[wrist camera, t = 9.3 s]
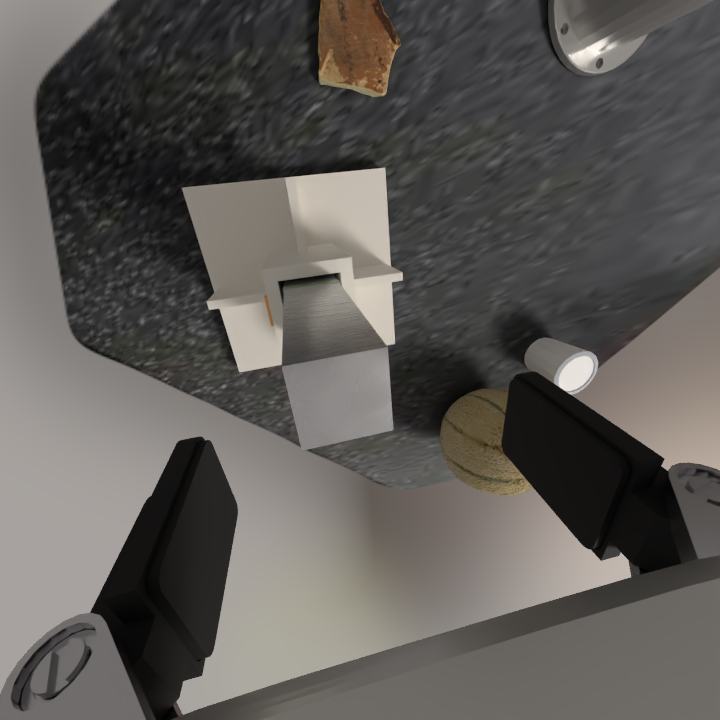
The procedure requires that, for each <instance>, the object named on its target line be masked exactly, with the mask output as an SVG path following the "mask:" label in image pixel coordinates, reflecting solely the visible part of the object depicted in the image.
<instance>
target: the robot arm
mask: <svg viewBox="0 0 720 720" xmlns="http://www.w3.org/2000/svg"><path fill="white" fill-rule="evenodd" d="M713 1H715V0H549V1H548V23H549V30H550V37H551V40H552V43H553V47H554V49H555V51H556V53H557V55H558V57H559V59H560V60H561V62H562V63H563V64H564V65H565V66H566V68H568V69H569V70H571V71H572V72H574V73H575V74H579V75H582V76H596V75H599V74H603V73H605V72H607V71H610V70H612V69H614V68H616V67H617V66H619V65H620V64H622V63H623V62H625V61H626V60H627V59H628V58H629V57H630V56H631V55H632V54H633V53H634V52H635V51H636V50H637V49H638V47H639V46H640V45H641V44H642V42H643V41H644V39H645V38H646V36H647V35H648V33H650V32H652V31H654V30H656V29H658V28H660V27H662V26H664V25H666V24H668V23H670V22H672V21H674V20H676V19H678V18H680V17H682V16H684V15H686V14H688V13H690V12H692V11H694V10H696V9H698V8H700V7H702V6H704V5H707V4H709V3H711V2H713ZM501 446H502V450H503V452H504V454H505V455H506V456H507V457H508V458H509V460H510V461H511V462H512V463H513V464H514V466H515V467H516V468H517V469H518V470H519V471H520V473H521V474H522V475H523V476H524V477H525V478H526V480H527V481H528V482H529V483H530V484H531V485H532V487H533V488H534V489H535V490H536V491H537V492H538V494H539V495H540V496H541V497H542V498H543V499H544V501H545V502H546V503H547V504H548V505H549V506H550V508H551V509H552V510H553V511H554V512H555V513H556V515H557V516H558V517H559V518H560V519H561V521H562V522H563V523H564V524H565V525H566V526H567V527H568V529H569V530H570V531H571V532H572V533H573V535H574V536H575V537H576V538H577V539H578V540H579V542H580V543H581V544H582V545H583V546H584V547H586V548H588V549H591V550H592V551H593V552H594V553H595V554H596V556H597V557H598V558H599V559H600V560H601V561H602V560H605V559H608V558H612V557H616V556H619V555H620V552H621V553H622V554H623V555H624V556H625V557H626V558H627V559H628V560H629V566H630V572H631V578H627V579H624V580H621V581H617V582H614V583H611V584H607V585H604V586H600V587H597V588H593V589H590V590H586V591H583V592H580V593H576V594H573V595H570V596H566V597H563V598H559V599H556V600H553V601H549V602H546V603H542V604H539V605H535V606H532V607H529V608H525V609H522V610H519V611H515V612H512V613H508V614H506V615H502V616H498V617H495V618H492V619H489V620H485V621H482V622H478V623H475V624H472V625H468V626H465V627H462V628H459V629H455V630H452V631H449V632H445V633H442V634H438V635H435V636H432V637H428V638H425V639H422V640H418V641H415V642H412V643H409V644H405V645H402V646H399V647H395V648H392V649H389V650H386V651H382V652H379V653H376V654H372V655H369V656H366V657H362V658H359V659H356V660H353V661H349V662H346V663H343V664H340V665H336V666H333V667H330V668H326V669H323V670H320V671H316V672H313V673H310V674H307V675H304V676H300V677H297V678H294V679H290V680H287V681H284V682H281V683H278V684H275V685H271V686H268V687H266V688H262V689H259V690H256V691H253V692H250V693H247V694H244V695H241V696H238V697H235V698H232V699H229V700H226V701H222V702H219V703H216V704H213V705H210V706H207V707H204V708H201V709H198V710H196V711H193V712H190V713H188V714H185V715H183V714H182V713H181V710H180V708H179V706H178V704H177V702H176V701H177V700H178V698H179V697H180V692H181V688H182V684H183V681H185V680H188V679H192V678H195V677H199V676H202V673H203V667H204V663H205V658H206V657H209V656H211V654H212V652H213V650H214V645H215V640H216V634H217V629H218V623H219V618H220V612H221V606H222V601H223V595H224V589H225V584H226V578H227V572H228V567H229V561H230V555H231V550H232V544H233V538H234V533H235V527H236V521H237V515H238V508H237V503H236V500H235V498H234V495H233V493H232V491H231V488H230V486H229V483H228V481H227V479H226V476H225V474H224V471H223V469H222V466H221V464H220V462H219V459H218V457H217V454H216V452H215V450H214V447H213V445H212V443H211V441H210V440H206V441H205V440H204V438H203V437H195V438H190V439H185V440H180V441H179V442H178V443H177V444H176V446H175V449H174V450H173V453H172V454H171V456H170V459H169V461H168V463H167V465H166V467H165V469H164V471H163V473H162V475H161V477H160V479H159V481H158V483H157V485H156V487H155V489H154V492H153V494H152V496H150V497H149V498H148V499H147V501H146V502H145V504H144V505H143V508H142V510H141V512H140V514H139V516H138V518H137V520H136V522H135V524H134V526H133V528H132V530H131V532H130V534H129V536H128V538H127V540H126V542H125V544H124V546H123V548H122V550H121V552H120V554H119V556H118V558H117V560H116V562H115V564H114V566H113V568H112V570H111V572H110V574H109V576H108V578H107V580H106V582H105V584H104V586H103V588H102V590H101V592H100V595H99V596H98V598H97V600H96V602H95V604H94V606H93V608H92V610H91V612H90V613H87V614H80V615H77V616H75V617H73V618H70V619H68V620H66V621H64V622H62V623H61V624H59V625H58V626H56V627H55V628H54V629H52V630H50V631H49V632H47V633H46V634H45V635H44V636H43V637H42V638H41V639H40V640H38V641H37V642H36V643H35V644H34V645H33V646H32V647H31V648H30V649H29V650H28V651H27V653H26V654H25V655H24V656H23V657H22V658H21V660H20V661H19V662H18V663H17V665H16V666H15V668H14V669H13V671H12V672H11V674H10V676H9V677H8V678H7V680H6V682H5V685H4V687H3V689H2V692H1V694H0V720H720V471H719V470H717V469H714V468H711V467H708V466H704V465H701V464H694V463H678V464H675V465H673V466H671V468H670V469H669V471H667V470H665V469H664V468H663V467H661V465H662V463H663V461H664V458H663V457H661V456H660V455H658V454H657V453H655V452H654V451H652V450H651V449H650V448H648V447H646V446H645V445H644V444H642V443H641V442H639V441H638V440H636V439H635V438H633V437H632V436H630V435H629V434H628V433H626V432H625V431H623V430H622V429H620V428H619V427H617V426H616V425H614V424H613V423H611V422H610V421H608V420H607V419H605V418H604V417H603V416H601V415H600V414H598V413H597V412H595V411H594V410H592V409H591V408H589V407H588V406H586V405H585V404H583V403H582V402H580V401H579V400H578V399H576V398H575V397H573V396H572V395H570V394H569V393H567V392H566V391H564V390H563V389H561V388H560V387H558V386H557V385H556V384H554V383H553V382H551V381H550V380H548V379H547V378H545V377H544V376H542V375H541V374H539V373H538V372H536V371H532V372H527V373H522V374H517V375H516V376H515V377H514V379H513V380H512V381H511V382H510V385H509V392H508V399H507V406H506V413H505V420H504V427H503V434H502V441H501Z"/></svg>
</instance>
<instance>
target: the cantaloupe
mask: <svg viewBox="0 0 720 720" xmlns="http://www.w3.org/2000/svg"><path fill="white" fill-rule="evenodd" d="M507 399H508V391H506V390H500V389H480V390H476V391H472V392H470V393H468V394H466V395H465V396H463V397H461V398H459V399H458V400H457V401H456V402H454V403H453V404H452V405H451V407H450V408H449V409H448V411H447V412H446V413H445V416H444V418H443V421H442V426H441V433H440V447H441V452H442V455H443V458H444V460H445V462H446V463H447V465H448V467H449V469H450V470H451V471H452V472H453V473H454V475H455V476H456V477H457V478H458V479H460V480H461V481H462V482H464V483H466V484H467V485H468V486H471V487H473V488H475V489H478V490H480V491H483V492H486V493H489V494H493V495H500V496H501V495H503V496H511V495H516V494H519V493H522V492H525V491H527V490H529V489H530V488H532V485H531V484H530V483H529V482H528V481H527V480H526V478H525V477H524V476H523V475H522V474H521V473H520V471H519V470H518V469H517V468H516V467H515V466H514V464H513V463H512V462H511V461H510V460H509V458H508V457H507V456H506V455H505V454H504V452H503V450H502V446H501V441H502V434H503V427H504V420H505V413H506V406H507Z"/></svg>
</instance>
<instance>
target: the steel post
mask: <svg viewBox="0 0 720 720" xmlns="http://www.w3.org/2000/svg"><path fill="white" fill-rule="evenodd" d="M283 293H284V303H283V338H282V370H283V374H284V378H285V382H286V386H287V390H288V395H289V399H290V403H291V407H292V411H293V415H294V419H295V424H296V428H297V432H298V436H299V440H300V444H301V449H302V450H307V449H311V448H316V447H320V446H325V445H329V444H333V443H338V442H342V441H347V440H351V439H356V438H360V437H365V436H369V435H374V434H378V433H383V432H387V431H392V430H393V417H392V402H391V387H390V373H389V358H388V347H387V345H386V344H385V343H384V341H383V340H382V339H381V337H380V336H379V335H378V333H377V332H376V331H375V329H374V328H373V327H372V325H371V324H370V323H369V321H368V320H367V319H366V317H365V316H364V315H363V313H362V312H361V311H360V309H359V308H358V307H357V305H356V304H355V303H354V301H353V300H352V299H351V297H350V296H349V295H348V294H347V292H346V291H345V290H344V288H343V287H342V286H341V284H340V281H339V280H338V279H336V278H335V276H334V275H333V274H325V275H318V276H311V277H304V278H297V279H290V280H284V287H283Z"/></svg>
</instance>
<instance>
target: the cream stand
mask: <svg viewBox="0 0 720 720" xmlns="http://www.w3.org/2000/svg"><path fill="white" fill-rule="evenodd" d="M182 190H183V193H184V197H185V200H186V203H187V206H188V209H189V213H190V216H191V219H192V222H193V225H194V229H195V232H196V235H197V238H198V241H199V245H200V248H201V251H202V254H203V257H204V261H205V264H206V267H207V270H208V273H209V277H210V280H211V283H212V286H213V289H214V294H213V295H212V296H211V297H210V298H209V299H208V300H207V305H208V308H209V310H213V309H220V312H221V315H222V318H223V321H224V325H225V328H226V331H227V334H228V337H229V341H230V344H231V347H232V350H233V353H234V357H235V360H236V363H237V366H238V369H239V372H244V371H249V370H255V369H260V368H266V367H271V366H277V365H282V338H283V303H284V293H283V287H284V280H290V279H297V278H304V277H311V276H318V275H325V274H333V275H334V276H335V278H336V279H338V280H339V281H340V284H341V286H342V287H343V288H344V290H345V291H346V292H347V294H348V295H349V296H350V297H351V299H352V300H353V301H354V303H355V304H356V305H357V307H358V308H359V309H360V311H361V312H362V313H363V315H364V316H365V317H366V319H367V320H368V321H369V323H370V324H371V325H372V327H373V328H374V329H375V331H376V332H377V333H378V335H379V336H380V337H381V339H382V340H383V341H384V343H385V344H386V345H391V344H395V334H394V316H393V298H392V282H395V281H402V280H403V274H402V272H401V271H399V270H397V269H395V268H393V267H391V263H390V245H389V227H388V209H387V192H386V174H385V168H377V169H367V170H357V171H346V172H336V173H326V174H316V175H306V176H295V177H285V178H275V179H265V180H255V181H244V182H234V183H224V184H214V185H204V186H193V187H183V188H182Z"/></svg>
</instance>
